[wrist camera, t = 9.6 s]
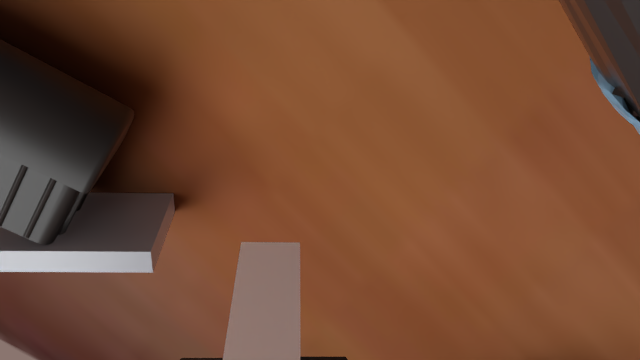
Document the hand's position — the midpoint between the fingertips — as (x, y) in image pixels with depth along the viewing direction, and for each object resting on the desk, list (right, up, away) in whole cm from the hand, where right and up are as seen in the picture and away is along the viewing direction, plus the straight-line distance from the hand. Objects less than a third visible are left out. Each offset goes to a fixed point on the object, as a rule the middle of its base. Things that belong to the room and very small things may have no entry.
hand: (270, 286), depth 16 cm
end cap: (-14, +7, +16) cm, 22 cm away
